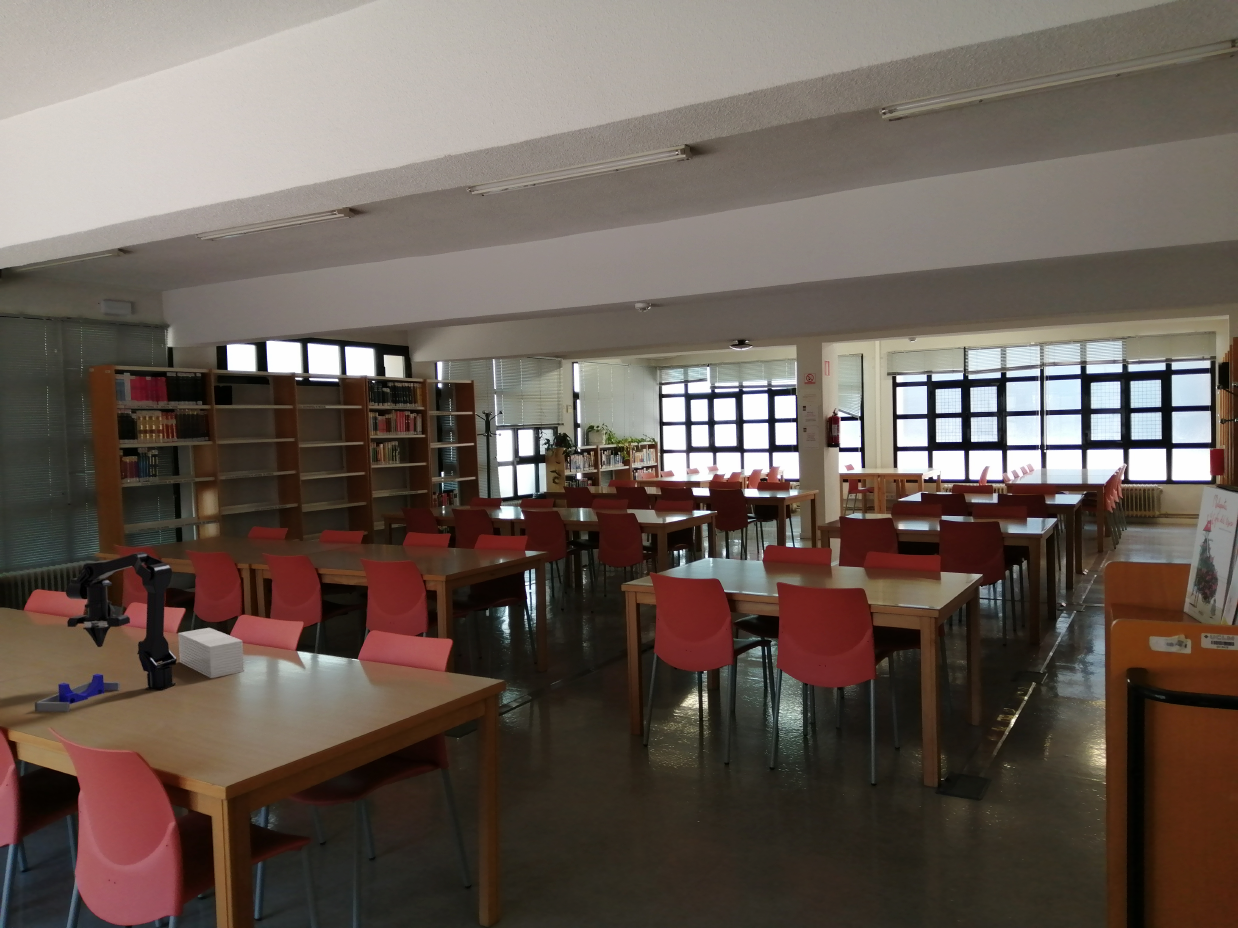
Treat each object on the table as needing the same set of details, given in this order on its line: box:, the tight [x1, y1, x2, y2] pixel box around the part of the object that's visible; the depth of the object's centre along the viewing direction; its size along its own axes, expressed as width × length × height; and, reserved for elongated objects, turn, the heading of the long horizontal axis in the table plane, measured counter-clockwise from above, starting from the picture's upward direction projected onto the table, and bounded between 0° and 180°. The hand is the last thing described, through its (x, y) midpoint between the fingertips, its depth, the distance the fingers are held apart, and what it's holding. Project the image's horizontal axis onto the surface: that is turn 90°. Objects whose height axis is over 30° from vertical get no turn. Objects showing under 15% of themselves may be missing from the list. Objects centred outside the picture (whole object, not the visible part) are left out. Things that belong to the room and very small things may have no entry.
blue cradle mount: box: [57, 673, 105, 705], centre depth 271 cm, size 12×4×6 cm, turn 152°
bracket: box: [34, 681, 121, 713], centre depth 269 cm, size 11×22×2 cm, turn 172°
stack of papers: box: [177, 627, 245, 679], centre depth 305 cm, size 32×11×11 cm, turn 44°
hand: (100, 646), depth 288 cm, fingers closed
